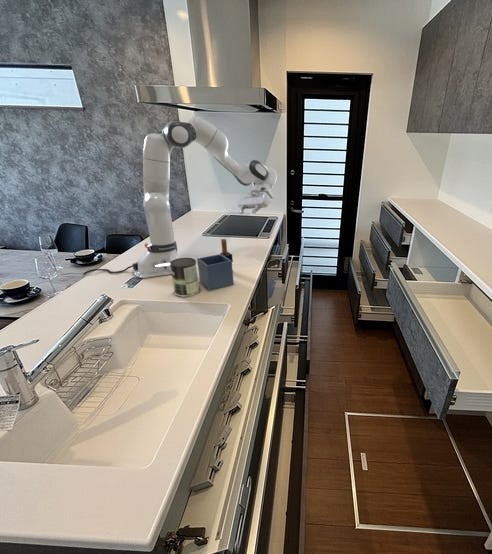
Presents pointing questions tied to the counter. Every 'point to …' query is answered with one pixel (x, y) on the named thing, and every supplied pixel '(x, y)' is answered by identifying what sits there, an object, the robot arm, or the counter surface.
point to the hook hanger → (225, 250)
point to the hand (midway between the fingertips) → (246, 213)
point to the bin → (215, 271)
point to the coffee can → (184, 276)
